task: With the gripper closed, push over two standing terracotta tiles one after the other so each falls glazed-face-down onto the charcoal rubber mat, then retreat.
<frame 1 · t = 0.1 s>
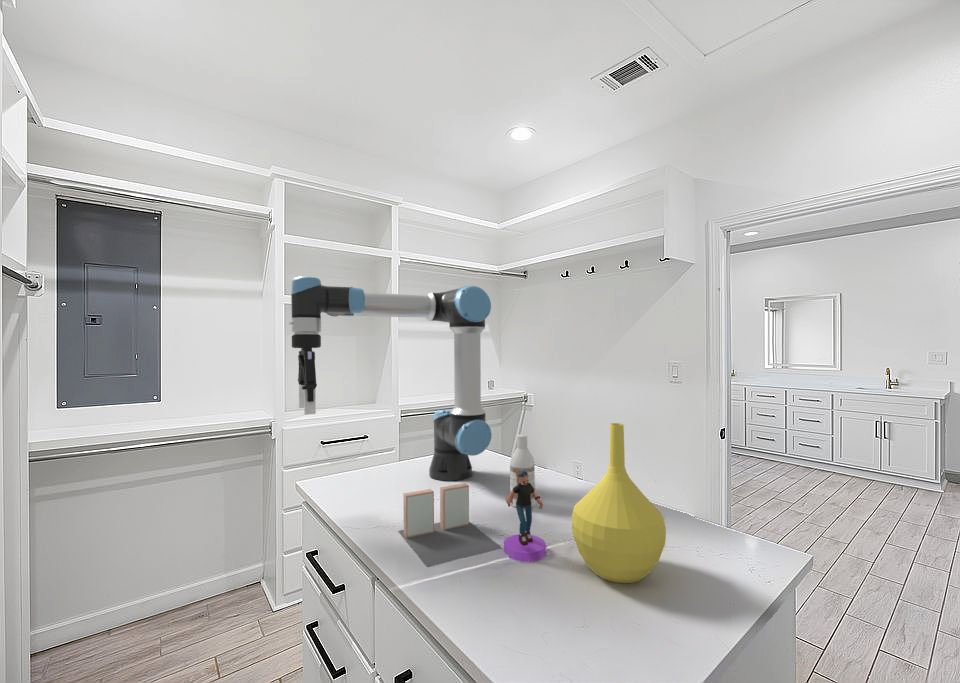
hand: (306, 410, 124), 28 cm above the counter, fingers open, 13 cm apart
mat: (447, 540, 105), on the counter
tile b: (418, 533, 108), resting on mat
tile a: (454, 526, 113), resting on mat
vase: (617, 571, 91), on the counter
bath foam: (522, 505, 128), on the counter
figurine: (524, 552, 100), on the counter
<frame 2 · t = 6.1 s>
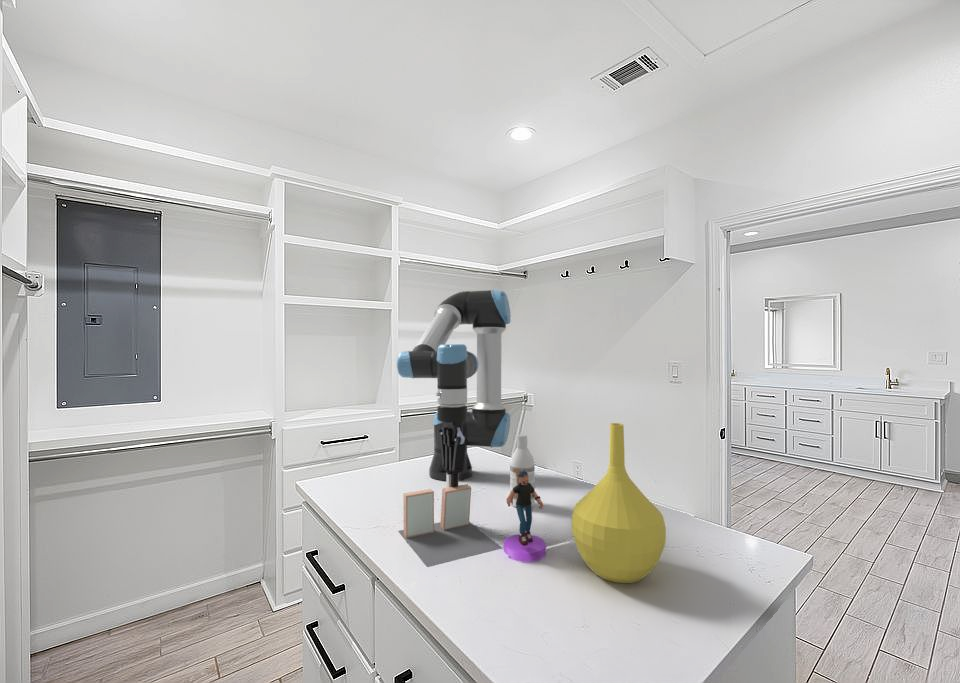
hand: (452, 498, 113), 7 cm above the counter, fingers closed
tile a: (454, 525, 113), point 1 cm above the counter, tilted 8°, touching gripper, mat
everything else where it was.
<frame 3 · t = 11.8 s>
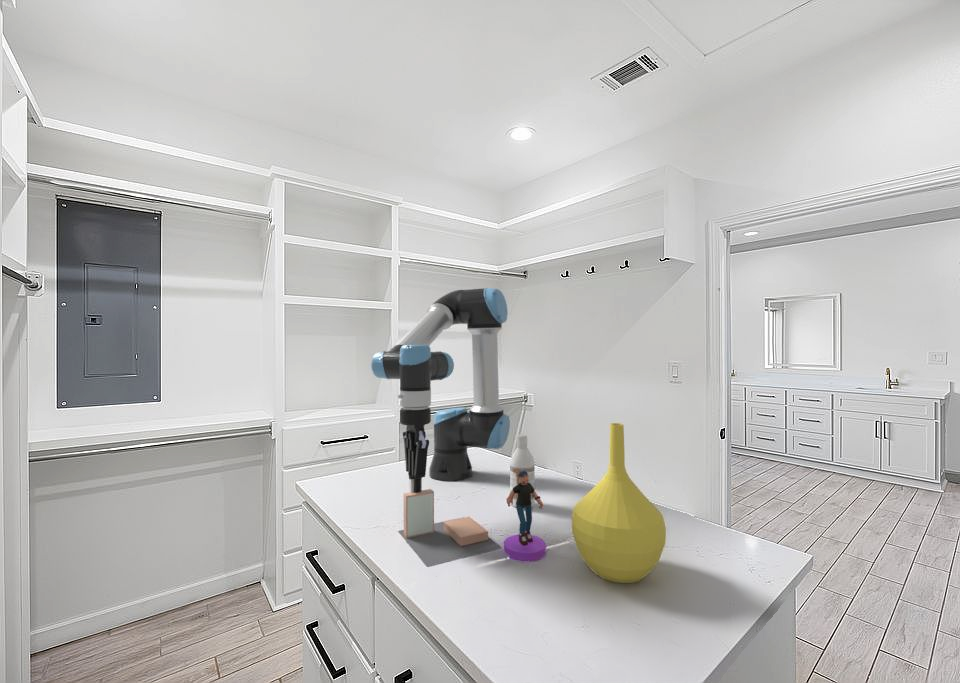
hand: (415, 503, 110), 7 cm above the counter, fingers closed
tile b: (418, 533, 108), resting on mat, touching gripper
tile a: (456, 523, 112), point 2 cm above the counter, tilted 90°, touching mat
everything else where it was.
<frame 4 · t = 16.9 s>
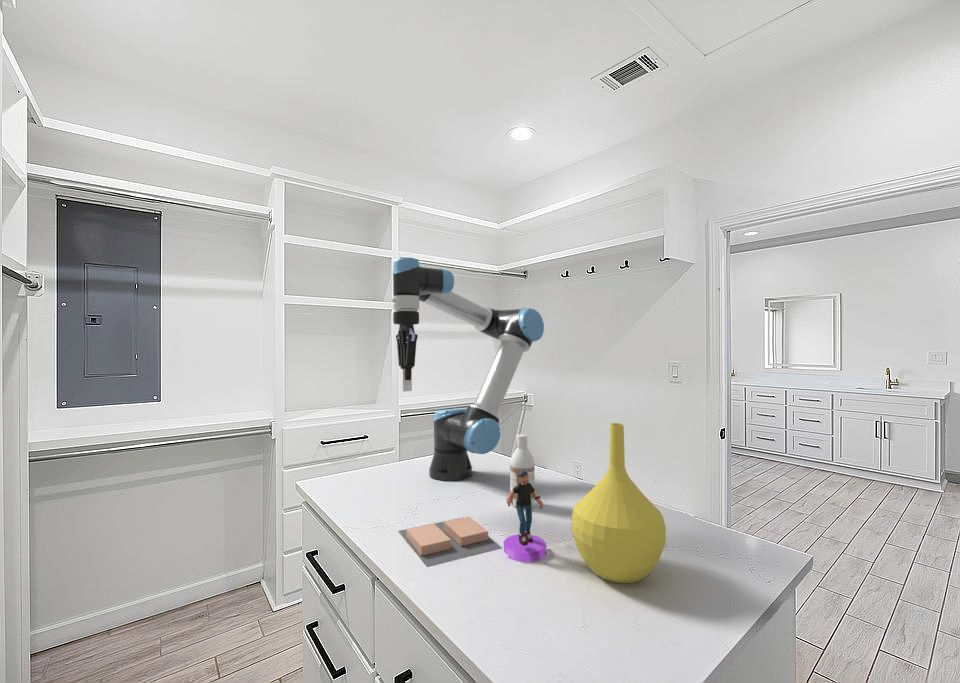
hand: (406, 390, 132), 32 cm above the counter, fingers closed
tile b: (420, 530, 107), point 2 cm above the counter, tilted 90°, touching mat
everything else where it was.
at the end: tile a tilted 90°; tile b tilted 90°; tile a 6.6 cm from the mat (horizontally) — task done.
